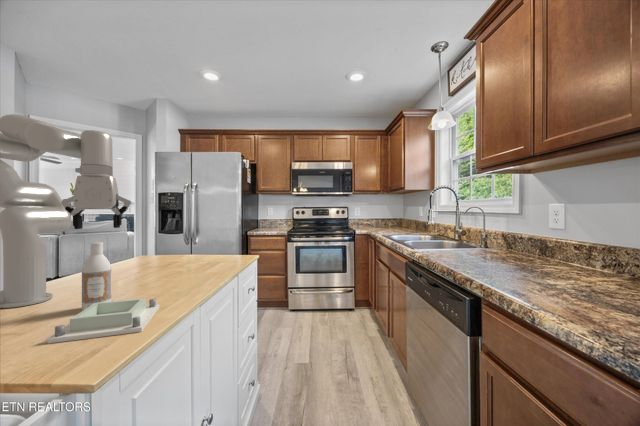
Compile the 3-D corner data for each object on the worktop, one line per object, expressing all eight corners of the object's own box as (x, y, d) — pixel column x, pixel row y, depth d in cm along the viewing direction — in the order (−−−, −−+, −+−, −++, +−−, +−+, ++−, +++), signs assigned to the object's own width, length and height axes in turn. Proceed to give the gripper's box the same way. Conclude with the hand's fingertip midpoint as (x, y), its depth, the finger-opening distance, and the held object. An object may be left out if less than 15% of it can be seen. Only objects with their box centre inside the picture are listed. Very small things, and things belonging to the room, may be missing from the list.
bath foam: (79, 313, 77) (79, 244, 77) (84, 307, 83) (84, 242, 83) (110, 309, 81) (110, 243, 81) (112, 302, 87) (112, 241, 87)
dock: (47, 343, 60) (47, 325, 60) (87, 314, 77) (87, 300, 77) (141, 331, 65) (141, 315, 65) (159, 307, 82) (159, 294, 82)
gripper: (54, 169, 76) (54, 229, 76) (126, 171, 82) (127, 227, 82) (68, 173, 83) (69, 228, 83) (134, 175, 89) (135, 226, 89)
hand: (98, 228), depth 82 cm, fingers open, 9 cm apart
